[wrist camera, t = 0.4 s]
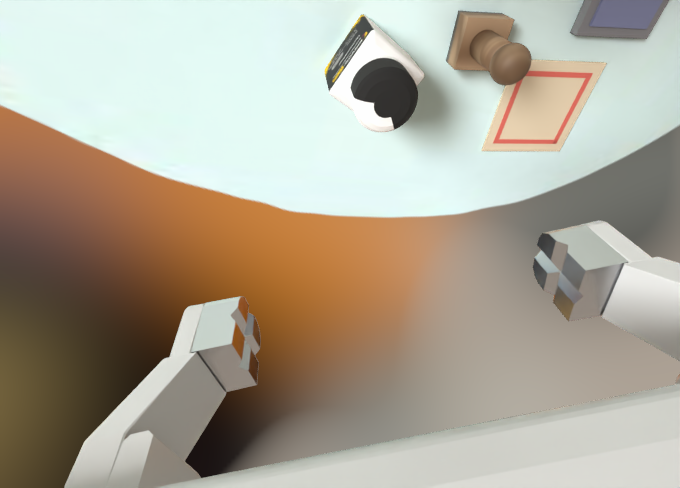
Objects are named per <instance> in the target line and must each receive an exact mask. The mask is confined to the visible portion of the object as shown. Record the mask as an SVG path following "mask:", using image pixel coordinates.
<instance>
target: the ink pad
mask: <svg viewBox="0 0 680 488" xmlns="http://www.w3.org/2000/svg"><path fill="white" fill-rule="evenodd" d="M668 1H669V0H584V3H583V5H582V7H581V9H580V12H579V14H578V16H577V18H576V20H575V23H574V25H573V27H572V29H571V32H570V33H572V34H574V35H579V36H600V37H621V38H641V39H647V37H648V36H649V34H650V32H651V31H652V29H653V27H654V25H655V24H656V22H657V20H658V19H659V17H660V15H661V13H662V12H663V10H664V8H665V7H666V5H667V3H668Z"/></svg>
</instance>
